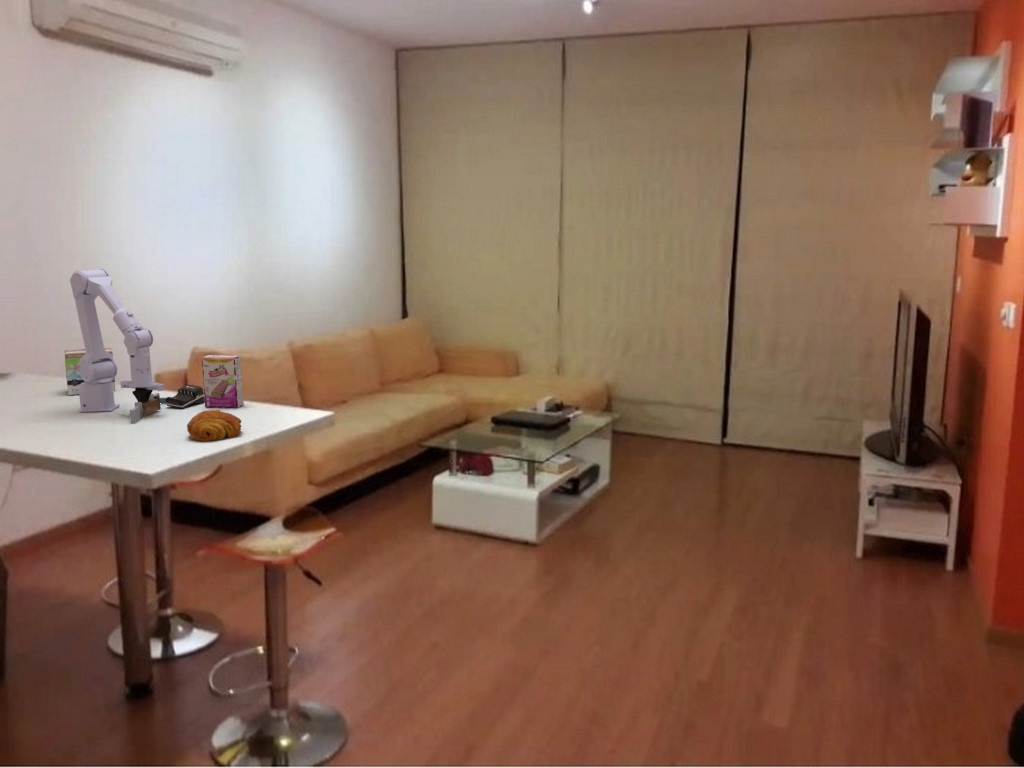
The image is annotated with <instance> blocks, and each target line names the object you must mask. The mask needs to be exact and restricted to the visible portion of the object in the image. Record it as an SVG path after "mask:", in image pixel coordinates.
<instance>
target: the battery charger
mask: <svg viewBox="0 0 1024 768" xmlns="http://www.w3.org/2000/svg"><path fill="white" fill-rule="evenodd" d="M203 397H204V387H202V386H198V385H194V384H186V385H184V386H181V387H180V388H178V389H177V393H176V395H174V396H166V397H165V398H166V404H165V405H166V406H167V407H171V408H175V409H181V410H183V409H185V408H186V407H189V406H191V405H192V404H195V403H194V402H196V401H198V400H200V399H201V398H203Z"/></svg>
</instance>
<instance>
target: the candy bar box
mask: <svg viewBox="0 0 1024 768" xmlns="http://www.w3.org/2000/svg"><path fill="white" fill-rule="evenodd" d="M241 360H242V358H241V356H240V355H221V354H220V355H219V354H216V355H215V354H214V355H211V354H210V355H209V354H208V355H205V356H203V357H201V367H202V379H203V393H204V397H205V402H204V407H205V408H213V409H214V408H215V409H216V408H217V409H218V408H219V409H221V408H222V409H238V408H241V407H243V406H244V405H245V403H244V393H243V392H244V391H243V376H242V375H243V374H242V361H241ZM242 405H243V406H242ZM240 406H241V407H240Z"/></svg>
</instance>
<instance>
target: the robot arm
mask: <svg viewBox="0 0 1024 768" xmlns="http://www.w3.org/2000/svg"><path fill="white" fill-rule="evenodd" d="M69 282H70V286H71V287H70V288H71V291H72V296H73V299H74V302H75V307H76V312H77V318H78V321H79V326H80V330H81V331H80V332H81V337H82V339H83V345H84V349H85V350H86V353H85V354H84V356H83V357H82V358H81V359H80V360H79V361H80V376H81V378H82V379H83V380H84V381H85V382H83V383H81V384H80V387H79V394H78V395H79V405H80V410H79V412H80V413H90V412H91V413H92V412H94V413H95V412H111V411H113V410H115V409H116V408H118V407H120V404H115V392H113V382H112V381H113V380H114V377H115V378H116V376H117V374H118V366H117V364H116V362H115V360H114V356H112V354H110V353H109V352H107V351H106V350H105V349H104V348H105V346H104V341H103V336H102V332H101V327H100V326H101V325H100V321H99V317H98V313H97V307H96V303H95V301H96V299H97V298H98V297H100V299H101V300H102V301H103V303H104V304H105V305H106V306H107V307H108V309H109V310H110V311H111V312H112V313H113V318H112V320H113V322H114V323H115V325H116V326H117V328H118V329H119V332H121V333H122V335H123V336H124V339H123V344H124V346H125V348H126V350H127V354H128V355H129V366H130V377H131V380H123V381H120V388H121V389H134V390H133V391H131V392H132V395H133V396H134V397H135V399H136V400H137V401H136V402H142V403H144V402H147V401H149V397H150V395H151V394H153V391H157V392H162V391H165V384H164V383H159V382H156V381H153V377H152V366H151V365H152V363H151V354H150V353H151V352H150V347H151V346H153V343H154V337H153V334H152V331H151V330H150V329H149V328H146V327H145V326H143V325H141V323H140V322H139V320H138V319H137V318H136V316H135V315H134V313H133V312H132V311H131V309H128V308H125V306H124V305H123V303H122V302H121V299H120V298H119V296H118V295H117V293H116V291H115V289H114V288H113V278H112V277H111V276H110V273H109V272H108V271H107V270H106V269H105V268H100V269H99V268H98V269H88V270H87V269H86V270H76V271H74V272H73V273H72V275H71V276H70V278H69ZM98 359H100V360H101V361H95V362H93V361H94V360H98Z"/></svg>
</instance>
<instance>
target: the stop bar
mask: <svg viewBox="0 0 1024 768" xmlns="http://www.w3.org/2000/svg"><path fill="white" fill-rule="evenodd" d="M166 398H167V397H160V403H166ZM202 402H204V403H205V397H203V398H201V399H200V400H198V401H196V402H194V403H193V404H203V403H202Z"/></svg>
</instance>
